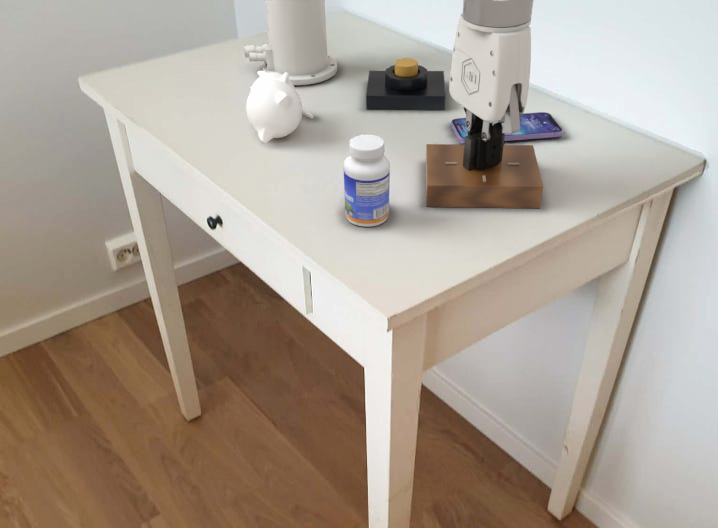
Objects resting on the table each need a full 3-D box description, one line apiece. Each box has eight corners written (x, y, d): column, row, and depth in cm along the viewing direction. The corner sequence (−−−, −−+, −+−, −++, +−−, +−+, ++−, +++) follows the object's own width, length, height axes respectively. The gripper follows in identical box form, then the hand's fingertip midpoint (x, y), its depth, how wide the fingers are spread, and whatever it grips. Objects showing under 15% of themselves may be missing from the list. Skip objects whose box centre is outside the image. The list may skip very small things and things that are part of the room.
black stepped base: (366, 109, 112) (365, 83, 109) (369, 84, 119) (369, 59, 116) (444, 110, 111) (446, 84, 108) (443, 84, 118) (444, 59, 116)
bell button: (394, 78, 111) (394, 66, 110) (394, 69, 114) (395, 57, 113) (417, 78, 111) (418, 66, 110) (417, 69, 114) (418, 58, 113)
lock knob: (468, 170, 91) (471, 138, 88) (462, 166, 92) (464, 134, 89) (501, 161, 92) (505, 130, 89) (495, 157, 93) (499, 125, 90)
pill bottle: (344, 206, 91) (340, 132, 84) (387, 203, 91) (387, 129, 84) (346, 229, 87) (343, 154, 80) (391, 227, 87) (392, 151, 80)
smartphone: (449, 118, 107) (548, 111, 108) (449, 124, 107) (547, 117, 109) (461, 139, 101) (565, 131, 103) (460, 146, 102) (564, 138, 103)
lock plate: (426, 206, 90) (427, 184, 88) (425, 164, 98) (426, 142, 96) (540, 208, 90) (543, 185, 87) (530, 165, 98) (533, 143, 96)
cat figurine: (260, 49, 105) (263, 78, 96) (324, 84, 110) (333, 115, 101) (235, 102, 109) (235, 134, 100) (297, 133, 114) (303, 167, 105)
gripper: (431, -6, 83) (425, 144, 96) (510, 35, 73) (492, 197, 85) (486, -16, 86) (473, 132, 98) (570, 22, 75) (544, 182, 88)
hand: (482, 161), depth 92 cm, fingers closed
